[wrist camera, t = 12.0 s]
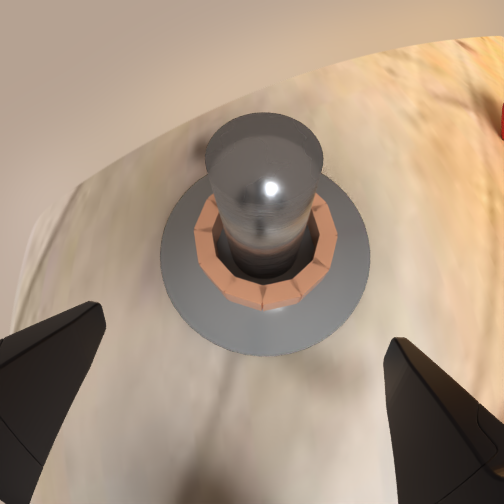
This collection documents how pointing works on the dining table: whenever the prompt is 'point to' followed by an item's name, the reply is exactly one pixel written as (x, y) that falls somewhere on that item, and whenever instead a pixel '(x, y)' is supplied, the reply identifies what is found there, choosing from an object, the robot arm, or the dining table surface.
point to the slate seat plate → (265, 290)
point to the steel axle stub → (264, 188)
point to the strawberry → (502, 122)
